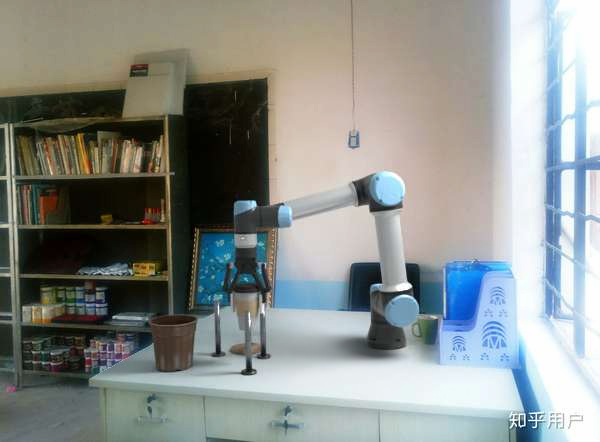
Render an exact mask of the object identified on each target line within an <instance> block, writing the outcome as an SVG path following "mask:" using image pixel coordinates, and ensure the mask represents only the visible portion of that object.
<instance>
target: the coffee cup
mask: <svg viewBox="0 0 600 442" xmlns="http://www.w3.org/2000/svg"><path fill="white" fill-rule="evenodd" d="M233 292H235V307H236V311H235V312H236V316H237V322H238V329H239V331H243V332H245V315H244V312H245V311H251V331H255V330H257V327H258V319H259V313H260V309H259V294H260V293H261V291H260V289H259V288H258V286H257V284H256V282H242V283H237V284H236V285H235V288H234V289H233Z"/></svg>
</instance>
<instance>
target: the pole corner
mask: <svg viewBox="0 0 600 442" xmlns="http://www.w3.org/2000/svg"><path fill="white" fill-rule="evenodd" d="M266 323H267V321H266V303H264V312H263V313H262V314H260V313H259V327H260V328H259V334H260V335H259V336H260V337H259V340H260V342H259V344H261V352H260V353H257V354H256V358H257V359H259V360H267V359H270V358H271V357H272V356H271V355H272V354H271V353H267V330H266V329H267V325H266Z"/></svg>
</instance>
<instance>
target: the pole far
mask: <svg viewBox="0 0 600 442" xmlns="http://www.w3.org/2000/svg"><path fill="white" fill-rule="evenodd" d="M220 302H221V301H220V299H214V300H213V309H214V312H213V313H214V315H213V316H214V339H215V340H214V343H215V344H214V347H215V348H214V349H215V351H214V352H211V355H210V356H211V357H213V358H222V357H225V356H226V352H225V351H222V340H221V338H222V334H221V303H220Z"/></svg>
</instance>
